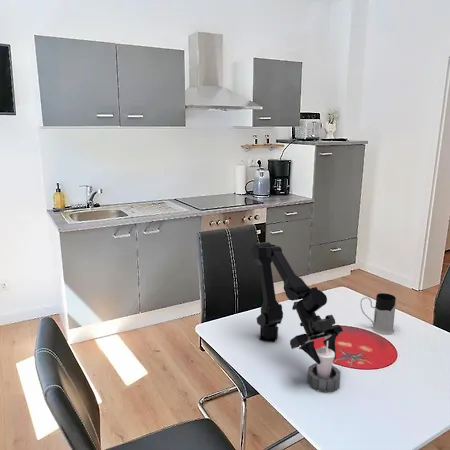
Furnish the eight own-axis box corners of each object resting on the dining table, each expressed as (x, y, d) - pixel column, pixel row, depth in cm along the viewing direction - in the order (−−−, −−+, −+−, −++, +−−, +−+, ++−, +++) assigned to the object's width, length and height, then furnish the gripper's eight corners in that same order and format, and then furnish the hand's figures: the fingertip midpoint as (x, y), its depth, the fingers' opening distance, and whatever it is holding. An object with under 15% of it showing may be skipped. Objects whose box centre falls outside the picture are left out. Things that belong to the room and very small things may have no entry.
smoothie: (329, 386, 131) (332, 347, 128) (310, 379, 134) (312, 341, 131) (335, 376, 136) (338, 339, 133) (317, 370, 140) (320, 333, 136)
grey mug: (394, 336, 166) (398, 302, 163) (358, 331, 170) (361, 297, 167) (392, 326, 175) (396, 294, 171) (358, 322, 179) (361, 290, 175)
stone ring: (305, 388, 132) (306, 377, 131) (309, 371, 142) (310, 360, 141) (338, 394, 129) (339, 383, 128) (340, 376, 139) (341, 366, 138)
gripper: (296, 313, 129) (317, 361, 122) (341, 302, 137) (362, 347, 130) (281, 325, 138) (299, 371, 131) (324, 314, 146) (343, 357, 139)
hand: (327, 361), depth 133 cm, fingers closed on smoothie, 6 cm apart
